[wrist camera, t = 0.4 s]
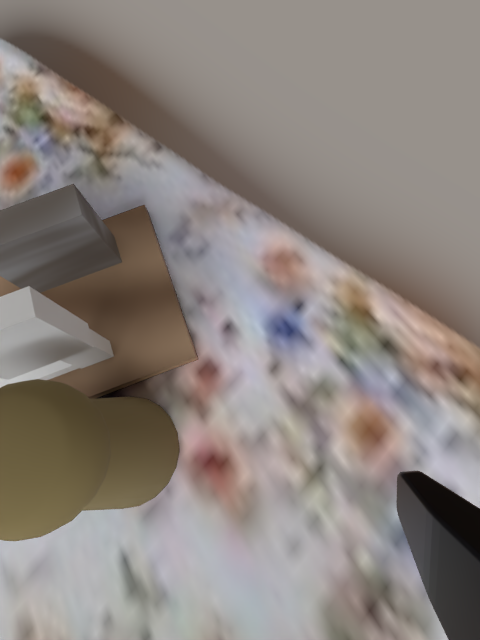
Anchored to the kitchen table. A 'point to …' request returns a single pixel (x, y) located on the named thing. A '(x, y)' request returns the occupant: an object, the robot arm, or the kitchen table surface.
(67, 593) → the kitchen table surface
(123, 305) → the board
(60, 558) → the kitchen table surface
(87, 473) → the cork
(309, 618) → the kitchen table surface
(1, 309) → the block
